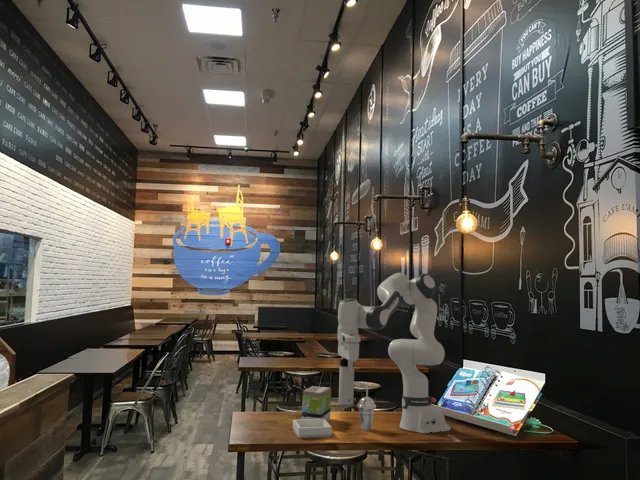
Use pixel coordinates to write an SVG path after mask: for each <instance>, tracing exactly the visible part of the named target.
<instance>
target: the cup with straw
mask: <svg viewBox="0 0 640 480" xmlns="http://www.w3.org/2000/svg"><path fill="white" fill-rule="evenodd" d="M355 384H356V385H357V384H358V385H360V386H363V387H366V390H365V392H366V393H365V394H366V396H363V397H361V399H359V401H358V403H357V405H356V407H357V408H358V412H359V420H360V427H361V428H360V429H361V430H362V431H372V427H373V418H374V413H375V409H376V408H377V405H376V404H375V401H374V399H373V398H371V397H370V396H369V386H368V384H367V383H362V382H359V381H355Z"/></svg>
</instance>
